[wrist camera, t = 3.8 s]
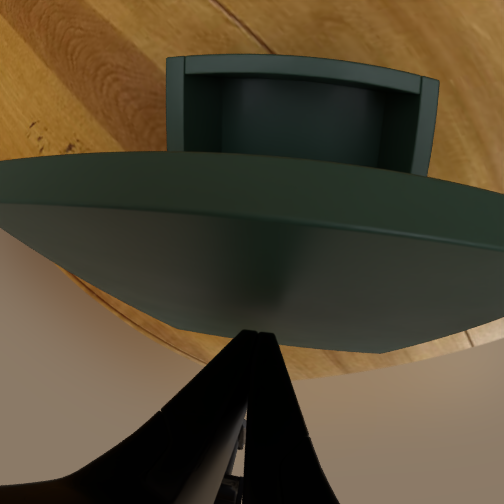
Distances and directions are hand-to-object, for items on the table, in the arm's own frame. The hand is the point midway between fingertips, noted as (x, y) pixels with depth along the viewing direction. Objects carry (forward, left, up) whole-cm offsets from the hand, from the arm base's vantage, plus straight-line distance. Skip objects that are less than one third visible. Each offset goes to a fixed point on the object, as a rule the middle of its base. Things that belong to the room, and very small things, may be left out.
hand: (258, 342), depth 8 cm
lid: (0, 0, -2) cm, 2 cm away
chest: (+1, 0, -13) cm, 13 cm away
